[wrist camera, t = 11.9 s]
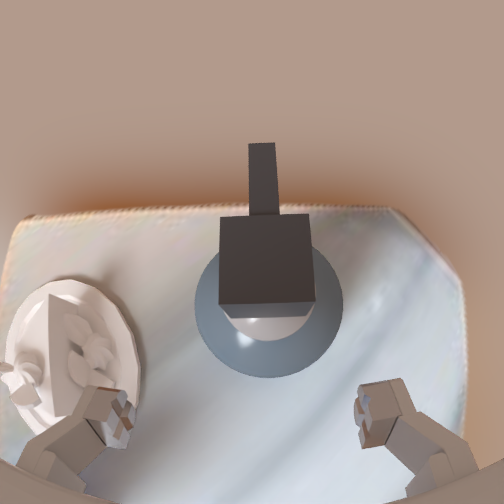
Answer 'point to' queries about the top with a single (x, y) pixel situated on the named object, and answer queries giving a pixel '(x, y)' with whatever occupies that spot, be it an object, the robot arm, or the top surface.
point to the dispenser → (270, 327)
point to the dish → (67, 352)
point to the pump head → (265, 251)
